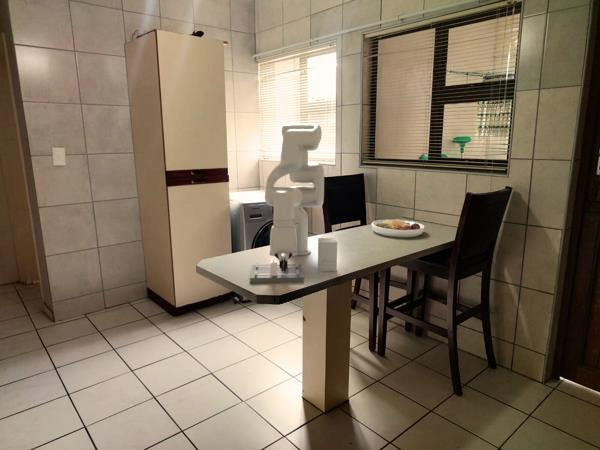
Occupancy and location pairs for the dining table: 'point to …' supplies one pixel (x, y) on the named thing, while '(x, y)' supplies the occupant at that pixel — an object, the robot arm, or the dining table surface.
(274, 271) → the block
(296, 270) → the console
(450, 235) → the dining table surface
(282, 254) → the block
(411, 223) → the bowl
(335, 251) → the supplement box
